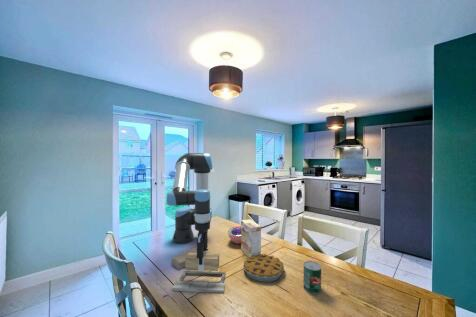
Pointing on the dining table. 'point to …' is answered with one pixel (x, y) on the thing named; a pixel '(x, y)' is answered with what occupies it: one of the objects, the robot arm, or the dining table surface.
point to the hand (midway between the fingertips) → (202, 266)
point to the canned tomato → (312, 277)
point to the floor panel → (200, 283)
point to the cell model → (235, 234)
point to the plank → (209, 262)
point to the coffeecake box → (250, 237)
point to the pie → (263, 267)
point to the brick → (182, 258)
